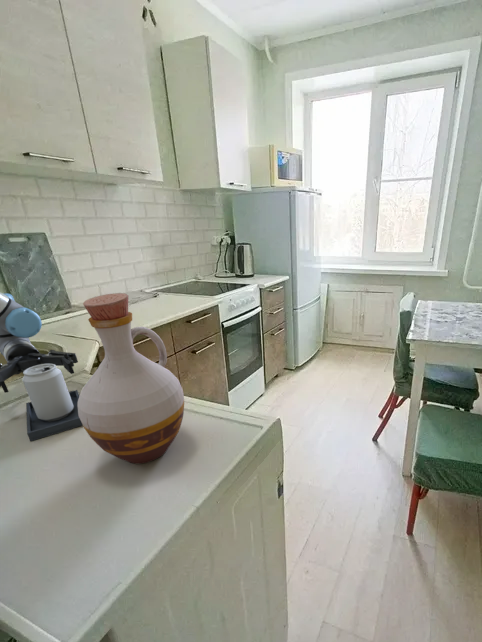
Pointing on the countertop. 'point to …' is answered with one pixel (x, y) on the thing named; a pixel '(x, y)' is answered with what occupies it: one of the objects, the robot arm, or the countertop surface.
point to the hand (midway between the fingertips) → (39, 377)
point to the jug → (129, 388)
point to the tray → (47, 428)
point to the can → (47, 392)
